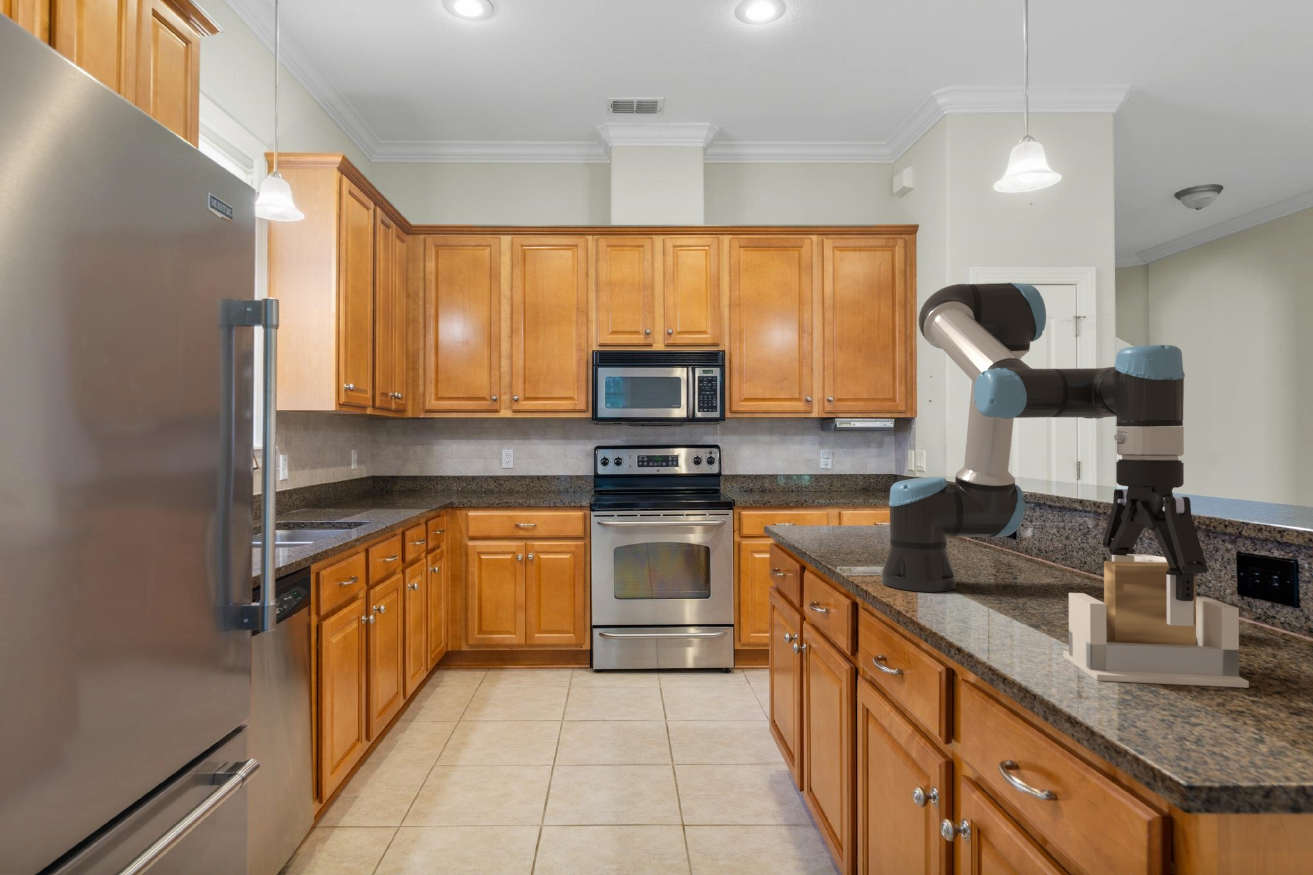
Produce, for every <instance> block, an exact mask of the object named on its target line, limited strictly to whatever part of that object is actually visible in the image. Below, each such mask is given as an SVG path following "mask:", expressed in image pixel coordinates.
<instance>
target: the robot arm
mask: <svg viewBox="0 0 1313 875" xmlns="http://www.w3.org/2000/svg"><path fill="white" fill-rule="evenodd" d="M1046 323H1047V310H1046V305H1045V301H1044V297H1042V295H1041V292H1040V290H1038V288H1036V287H1035V286H1033V285H1032V284H1028V283H1019V282H1018V283H1016V282H1003V283H1000V282H999V283H957V284H951V285H948V286H945V287H942V288H941V289H939V290H937V291H936V292H934V293H933V294H931V295H930V296H929V297H928V298H927V299H926V301H925V302H924V304H923V306H922V307H921V310H920V311H919V315H918V327H919V331H920V333H921V335H922V336H923V338H924V339H925V340H926V341H927V342H928V343H929V345H931V346H933V347H934V348H937V349H942V350H943V352H945V354H947V355H948V357H949V358H950V359H951V360H952V361H953V362H954V363H955V364H956V365H957V366H958V367H959V368H960V369H961V371H962V372H964V374H965V375H966V376H967V377H969V379H970V380H971V389H970V397H969V398H970V399H969V409H968V410H969V411H968V418H967V419H968V420H967V421H968V422H967V432H966V444H965V454H964V455H965V456H964V463H963V464H964V465H963V467H961V469H959V470H958V471H957V472H956V473H955V479H954V481H955V482H954V483H948V481H947V479H946V478H945V477H943V476H931V477H930V476H928V477H917V478H910V479H903V480H899V481H896V482H893V484H892V485H891V487H890V490H889V501H888V506H889V550H888V553H887V556H886V559H885V562H884V565H883V568H882V570H881V583H882V584H883V585H885V586H886V587H890V588H894V589H897V590H903V591H904V590H905V591H911V592H921V593H922V592H924V593H926V592H927V593H928V592H929V593H930V592H931V593H933V592H934V593H937V592H938V593H939V592H946V591H952V590H954V589H956V587H957V586H956V585H957V582H956V579H957V577H956V574H955V572H954V568H953V565H952V563H951V560H950V557H949V554H948V548H947V547H948V546H947V542H948V541H947V539H948V538H987V539H991V538H992V539H993V538H998V537H1008V536H1010V535H1011V536H1012V534H1014V533H1015V532H1016V531H1017V530H1018V529H1019V527H1020V526H1021V524H1022V522H1023V519H1024V516H1025V511H1026V510H1025V509H1026V502H1025V500H1024V498H1025V495H1024V491H1023V489H1021V486H1019V485H1018V484H1016V478H1015V477H1014V476H1013V475H1012V473H1011V472H1010V471H1009V465H1010V455H1011V450H1012V449H1011V447H1012V438H1013V430H1014V429H1013V428H1014V420H1015V418H1016V419H1024V418H1028V419H1029V418H1030V419H1031V418H1083V419H1097V420H1099V419H1104V418H1112V417H1113V418H1114V417H1115V418H1116V419H1115V420H1116V422H1115V423H1116V424H1115V426H1116V434H1114V436H1113V439H1114V441H1116V454H1117V455H1118V456H1121V459H1117V461H1116V462H1115V464H1116V465H1115V470H1116V472H1115V476H1116V477H1115V478H1116V480H1115V481H1116V483H1117V485H1119V486H1120V487H1121V486H1122V487H1127V488H1126V489H1125V488H1123V489H1122V488H1121V489H1120V488H1116V489H1114V490H1113V502H1112V506H1111V511H1110V514H1109V518H1108V521H1107V524H1106V529H1105V533H1104V536H1103V540H1102V546H1103V548H1105V549H1108V551H1109V554H1110V555H1111V561H1122V562H1134V556H1132V555H1127V554H1136V552H1135V549H1134V547H1135V545H1136V543H1137V541H1138V540H1139V538H1140V536H1141V534H1142V532H1143V531H1144V528H1145V527H1147V528H1148V530H1149V531H1151V532H1153V534H1154V535H1155V538H1156V539H1157V542H1158V544H1159V546H1160V547H1159V548H1160V549H1161V551H1162V554H1163V557H1165V558H1166V560H1167V563H1168V565H1169V567H1170V568H1169V569H1168V570H1167V571H1166V572H1165V573H1166V574H1167V624H1169V625H1177V626H1194V576H1196V577H1197V576H1198V575H1200V574H1207V572H1208V565H1207V562H1206V558H1205V555H1204V551H1203V548H1202V546H1201V543H1200V538H1199V535H1198V532H1197V529H1196V526H1195V523H1194V519H1193V515H1192V508H1191V507H1192V505H1191V499H1190V497H1188V496H1174V495H1173V489H1177V488H1180V487H1181V488H1182V487H1183V486H1184V480H1185V479H1184V478H1185V476H1184V472H1185V471H1184V470H1185V468H1184V462H1182V460H1179V457H1181V456H1183V455H1185V451H1184V450H1185V449H1184V448H1185V445H1184V441H1185V440H1184V439H1185V438H1184V434H1185V432H1184V430H1185V429H1184V428H1185V427H1184V399H1185V398H1184V397H1185V396H1184V393H1185V390H1184V389H1185V381H1184V380H1185V376H1186V374H1185V371H1184V366H1183V365H1184V364H1183V352H1182V350H1181V348H1179V347H1177V345H1172V344H1152V345H1149V344H1148V345H1140V346H1139V345H1137V346H1131V347H1124V348H1121V349H1120V350H1119V351H1118V352H1117V354H1116V358H1115V363H1114V366H1109V367H1099V368H1098V367H1097V368H1095V367H1093V368H1087V367H1085V368H1034V367H1033V368H1032V367H1030V366H1029V365H1028V364H1026V363H1025V362H1024V361H1023V360H1022V357H1024V356H1025V355H1027V354H1028V353H1029V352H1030V348H1031V343H1032V342H1035V341H1037V340H1039V339H1040V338H1041V337H1042V335H1043V332H1044V331H1045V328H1046V325H1047V324H1046Z"/></svg>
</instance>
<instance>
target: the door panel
mask: <svg viewBox="0 0 1313 875" xmlns="http://www.w3.org/2000/svg"><path fill="white" fill-rule="evenodd" d="M1169 568H1170V567H1169V565H1168V563H1167V562H1122V561H1112V560H1111V561H1110V560H1104V561H1103V603H1105V604H1106V642H1113V643H1139V644H1164V645H1189V646H1196V597H1197V575H1196V576H1194V626H1177V625H1169V624H1167V574H1166V573H1165V572H1166V571H1167V570H1168V569H1169Z"/></svg>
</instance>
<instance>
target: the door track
mask: <svg viewBox="0 0 1313 875" xmlns="http://www.w3.org/2000/svg"><path fill="white" fill-rule="evenodd" d="M1239 609H1240V608H1239V607H1237V606H1233V605H1232V604H1227V603H1225V602H1222V601H1219V600H1217V599H1213V598H1211V597H1209V596H1196V646H1189V645H1164V644H1139V643H1113V642H1106V604H1105V603H1104V601H1101V600H1098V599H1097V598H1095V597H1093V596H1091V595H1089V594H1087V593H1085V592H1068V650H1063V652H1062V654H1063V657H1064V658H1065V659H1067V660H1068V661H1069V662H1071V663H1072V664H1073V665H1075V666H1076V667H1078V668H1079V669H1080V670H1082V671H1083V672H1084V673H1085V674H1088V675H1089V676H1090V677H1092V678H1093V679H1094V680H1095V681H1099V682H1100V681H1101V682H1102V681H1103V682H1121V683H1123V682H1124V683H1141V684H1144V683H1145V684H1146V683H1147V684H1165V685H1181V686H1183V685H1184V686H1187V685H1188V686H1206V687H1224V688H1225V687H1226V688H1246V689H1247V688H1249V687H1250V685H1249V684H1250V682H1249V681H1248V680H1246V679H1245V678H1244V677H1241V676H1240V654H1239V653H1240V652H1239V651H1240V648H1239V647H1240V643H1239V642H1240V632H1239V629H1240V625H1239V620H1240V619H1239V618H1240V617H1239V616H1240V615H1239V613H1240V612H1239V611H1240V610H1239Z"/></svg>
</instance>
